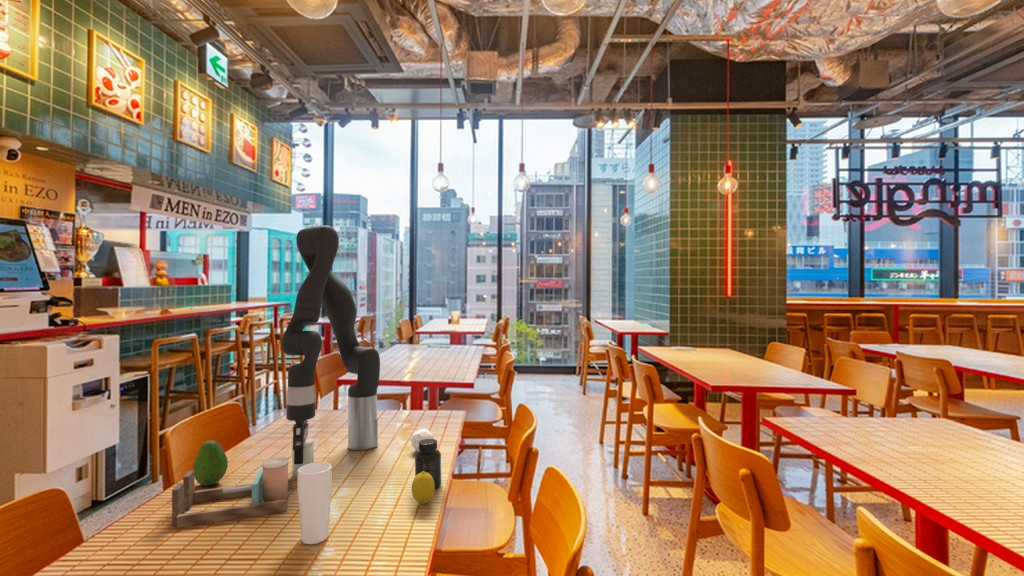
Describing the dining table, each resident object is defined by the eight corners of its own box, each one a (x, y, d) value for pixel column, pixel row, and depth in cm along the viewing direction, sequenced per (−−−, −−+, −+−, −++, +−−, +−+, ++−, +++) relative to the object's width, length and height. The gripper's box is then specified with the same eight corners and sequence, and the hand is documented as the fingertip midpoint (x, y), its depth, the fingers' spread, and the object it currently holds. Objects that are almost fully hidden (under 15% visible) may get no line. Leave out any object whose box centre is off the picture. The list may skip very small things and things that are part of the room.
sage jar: (314, 470, 136) (314, 436, 136) (313, 477, 131) (313, 442, 131) (292, 473, 134) (292, 438, 134) (290, 480, 129) (290, 445, 129)
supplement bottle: (446, 483, 126) (445, 439, 126) (431, 493, 120) (431, 447, 120) (425, 479, 129) (424, 436, 129) (409, 489, 123) (409, 443, 123)
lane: (292, 487, 125) (292, 457, 125) (286, 511, 111) (286, 477, 111) (190, 501, 117) (190, 468, 117) (170, 528, 103) (170, 492, 103)
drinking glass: (304, 531, 102) (303, 462, 102) (336, 529, 102) (336, 461, 102) (292, 548, 95) (292, 474, 95) (326, 546, 96) (326, 473, 96)
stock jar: (289, 494, 120) (289, 456, 120) (287, 503, 115) (287, 463, 115) (264, 497, 118) (264, 458, 118) (260, 507, 113) (260, 467, 113)
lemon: (438, 501, 116) (438, 468, 116) (427, 511, 111) (427, 477, 111) (419, 497, 118) (418, 466, 118) (407, 507, 113) (407, 474, 113)
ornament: (410, 455, 148) (403, 431, 152) (422, 456, 154) (415, 433, 158) (429, 445, 147) (421, 422, 150) (440, 447, 153) (433, 424, 157)
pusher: (264, 492, 121) (264, 467, 121) (257, 511, 111) (257, 483, 111) (228, 497, 118) (227, 472, 118) (217, 517, 108) (217, 489, 108)
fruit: (190, 493, 121) (190, 446, 121) (195, 482, 128) (195, 438, 128) (226, 487, 125) (226, 442, 125) (228, 476, 132) (228, 434, 132)
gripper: (313, 405, 127) (312, 466, 127) (317, 395, 141) (316, 449, 140) (283, 407, 125) (282, 469, 124) (289, 396, 138) (288, 452, 138)
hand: (300, 458), depth 132 cm, fingers open, 8 cm apart
